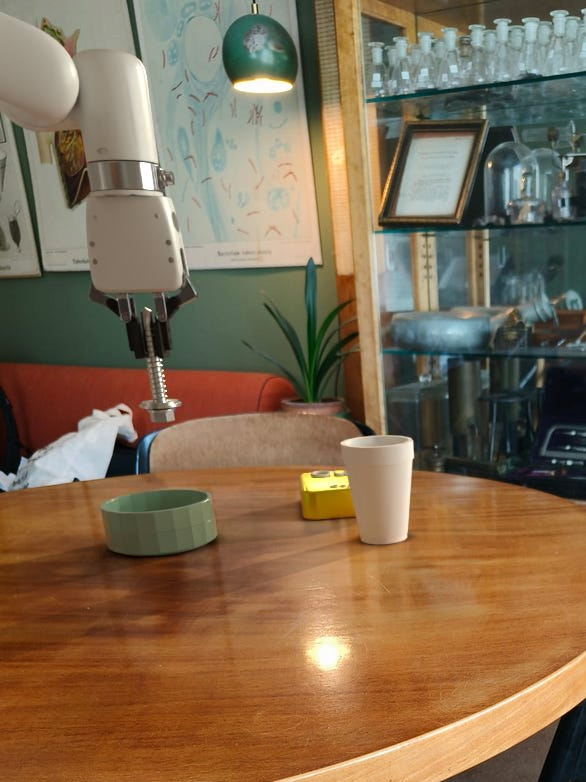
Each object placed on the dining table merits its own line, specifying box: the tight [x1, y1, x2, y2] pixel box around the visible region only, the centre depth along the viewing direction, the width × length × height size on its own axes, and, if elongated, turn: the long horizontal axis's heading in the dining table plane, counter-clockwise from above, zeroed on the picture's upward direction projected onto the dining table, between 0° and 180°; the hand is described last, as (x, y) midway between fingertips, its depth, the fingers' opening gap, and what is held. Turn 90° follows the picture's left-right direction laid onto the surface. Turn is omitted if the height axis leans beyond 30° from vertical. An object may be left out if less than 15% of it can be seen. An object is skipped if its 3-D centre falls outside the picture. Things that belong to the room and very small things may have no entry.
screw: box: [138, 307, 183, 424], centre depth 105 cm, size 13×5×5 cm
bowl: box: [99, 488, 219, 557], centre depth 120 cm, size 14×14×6 cm
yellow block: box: [298, 469, 356, 521], centre depth 137 cm, size 15×15×5 cm
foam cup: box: [340, 434, 415, 545], centre depth 117 cm, size 10×9×13 cm
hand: (152, 356), depth 105 cm, fingers closed on screw, 2 cm apart
